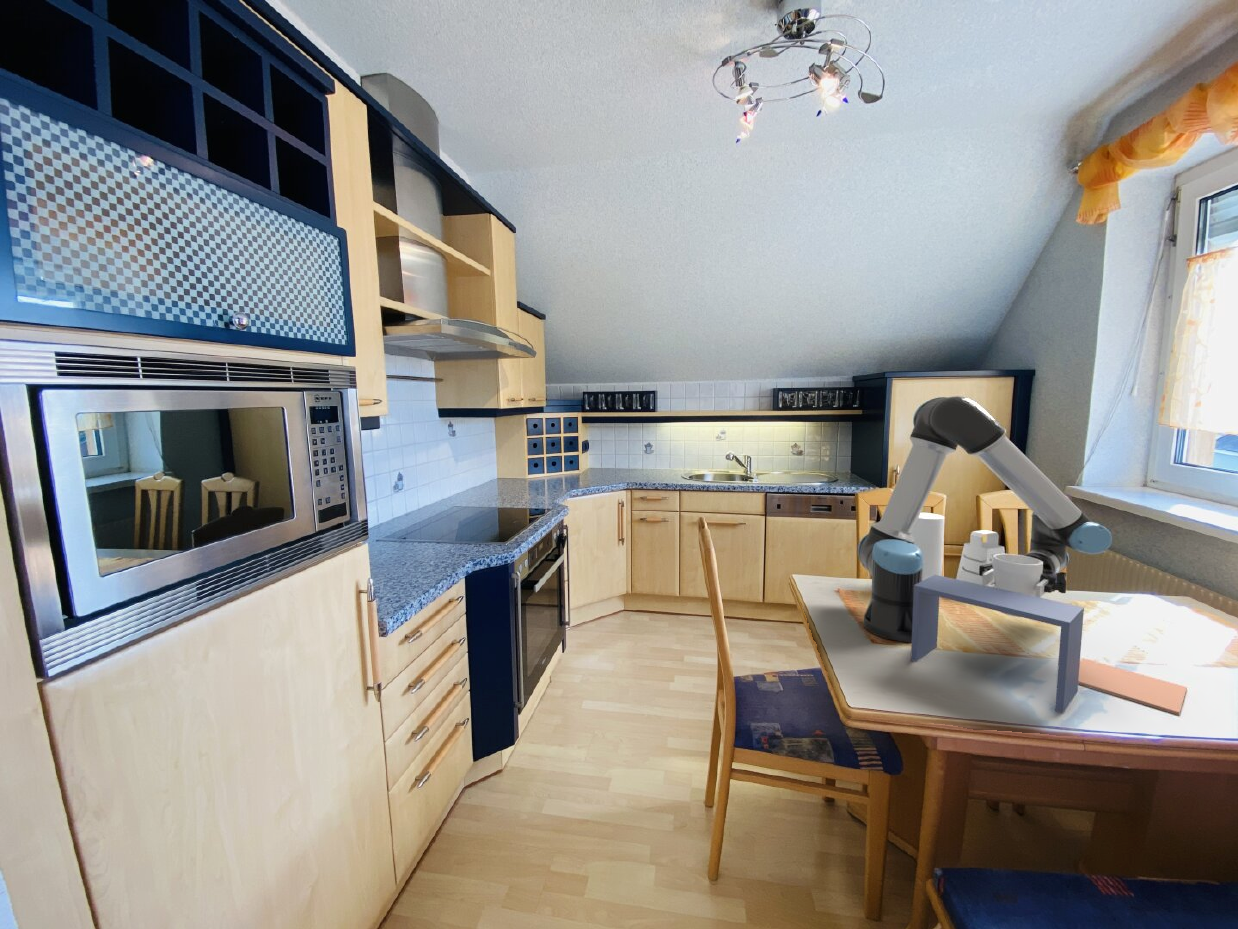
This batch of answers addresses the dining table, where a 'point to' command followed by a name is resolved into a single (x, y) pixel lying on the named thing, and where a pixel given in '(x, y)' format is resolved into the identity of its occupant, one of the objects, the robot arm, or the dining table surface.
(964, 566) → the grater
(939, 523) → the tall pillar cylinder
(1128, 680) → the mat
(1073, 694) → the rectangular arch
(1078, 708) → the dining table surface
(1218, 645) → the dining table surface
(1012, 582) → the foam cup
